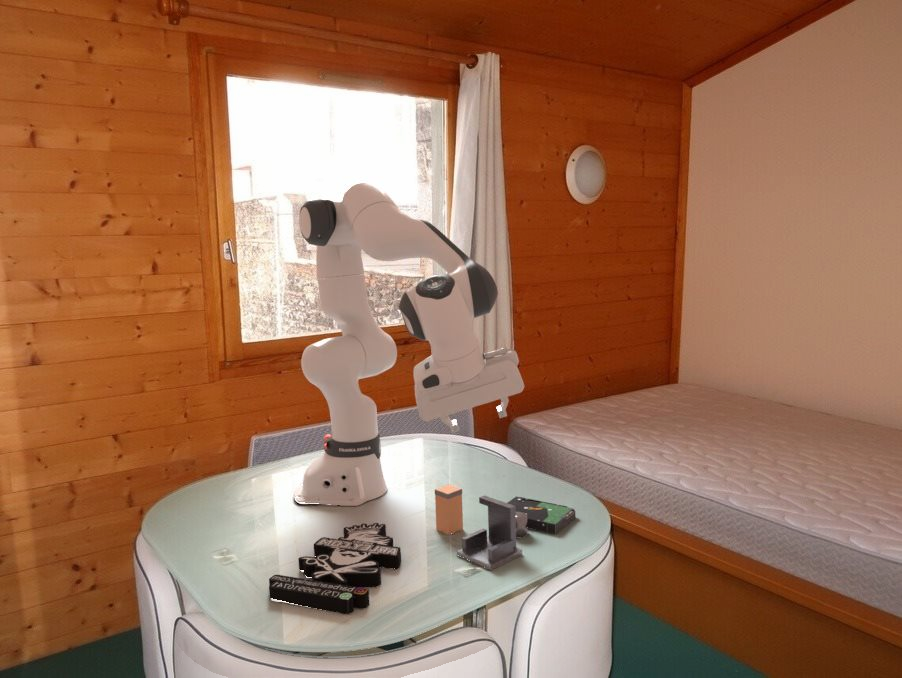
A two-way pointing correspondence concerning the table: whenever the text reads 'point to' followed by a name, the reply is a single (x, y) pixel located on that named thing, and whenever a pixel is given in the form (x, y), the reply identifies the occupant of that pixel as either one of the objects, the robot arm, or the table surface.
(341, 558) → the sign
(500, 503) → the keeper
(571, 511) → the disk drive
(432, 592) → the table surface
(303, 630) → the table surface
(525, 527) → the link stub
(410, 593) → the table surface
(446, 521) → the orange tall block
